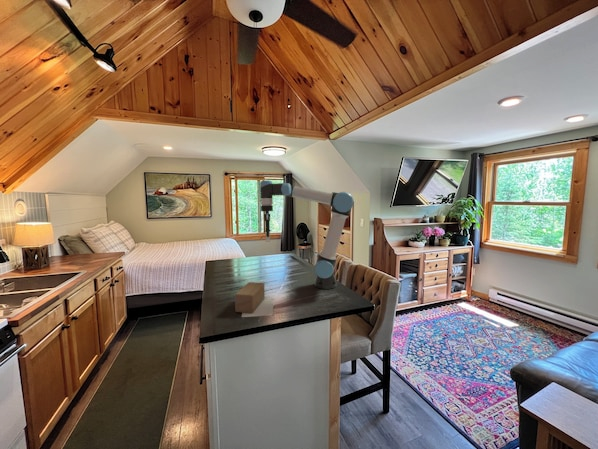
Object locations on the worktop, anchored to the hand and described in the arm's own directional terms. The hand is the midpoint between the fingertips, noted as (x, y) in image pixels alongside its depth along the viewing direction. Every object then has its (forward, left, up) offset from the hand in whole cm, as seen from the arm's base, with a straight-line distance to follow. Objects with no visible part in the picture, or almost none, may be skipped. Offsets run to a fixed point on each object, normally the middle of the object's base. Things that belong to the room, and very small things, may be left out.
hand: (267, 241), depth 162 cm
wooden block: (+7, +16, -27) cm, 31 cm away
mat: (+5, +28, -32) cm, 43 cm away
